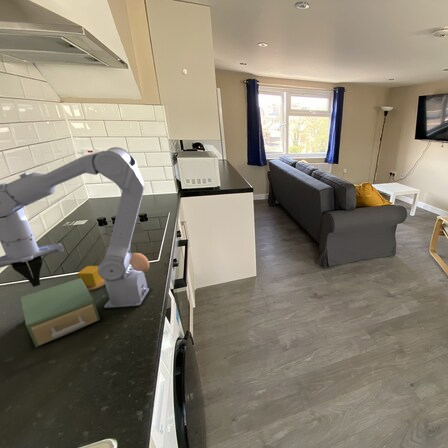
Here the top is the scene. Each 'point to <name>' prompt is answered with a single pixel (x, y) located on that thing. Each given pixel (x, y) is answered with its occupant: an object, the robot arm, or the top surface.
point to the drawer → (64, 324)
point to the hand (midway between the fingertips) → (36, 284)
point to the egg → (139, 262)
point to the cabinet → (55, 303)
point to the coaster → (96, 286)
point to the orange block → (90, 276)
